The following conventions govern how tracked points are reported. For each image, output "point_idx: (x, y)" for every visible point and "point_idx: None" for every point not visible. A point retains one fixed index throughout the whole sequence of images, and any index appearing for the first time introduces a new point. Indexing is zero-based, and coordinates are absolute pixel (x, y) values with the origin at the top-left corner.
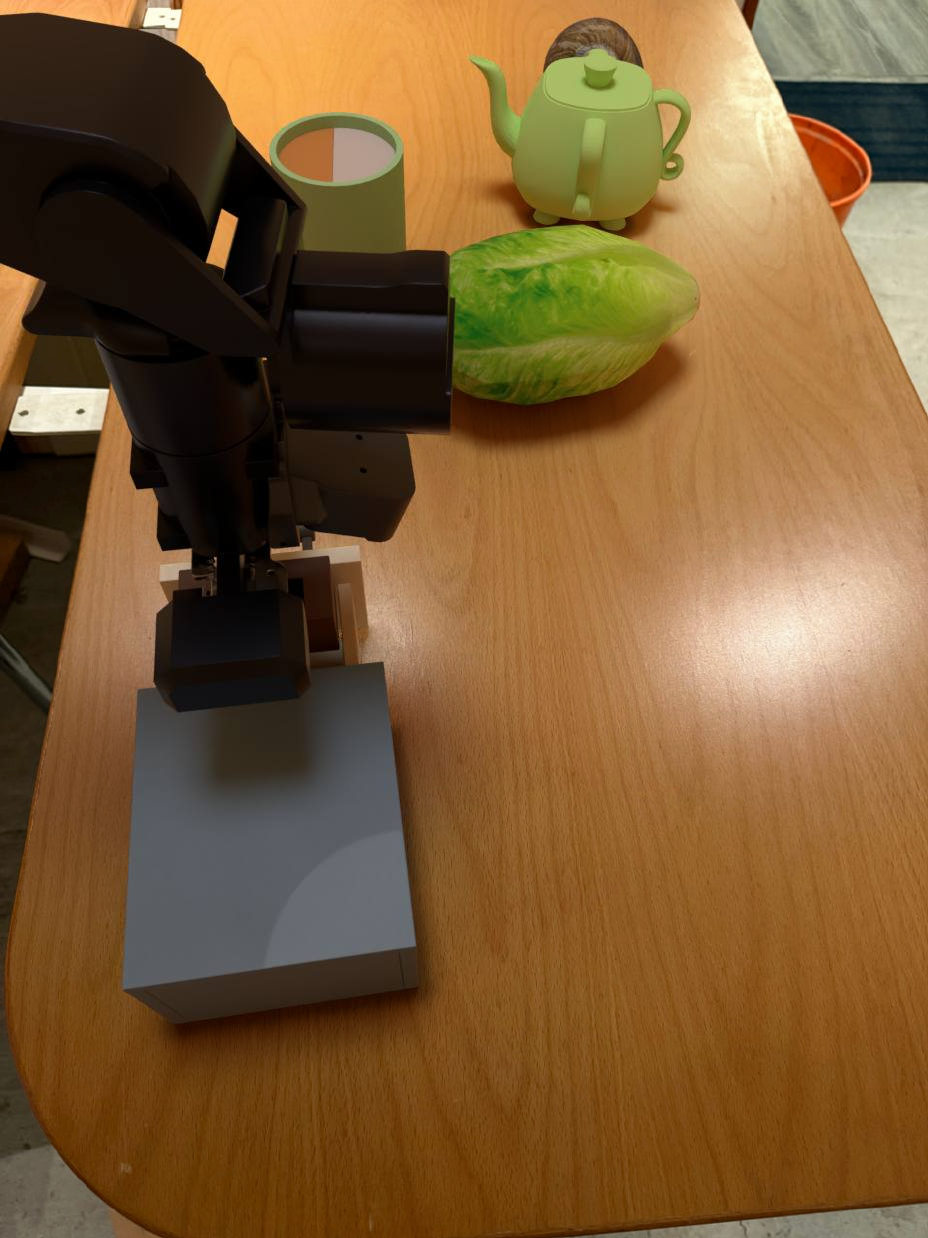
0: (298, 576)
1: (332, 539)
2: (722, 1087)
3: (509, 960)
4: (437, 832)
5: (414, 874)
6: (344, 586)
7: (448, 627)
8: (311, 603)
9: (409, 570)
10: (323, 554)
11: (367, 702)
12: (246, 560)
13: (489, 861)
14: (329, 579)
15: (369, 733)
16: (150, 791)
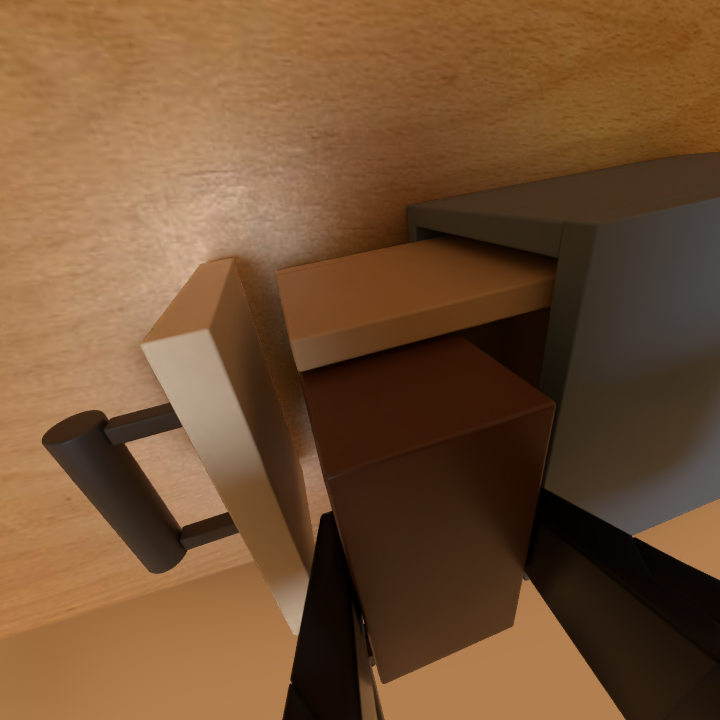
0: (413, 523)
1: (29, 345)
2: None
3: (702, 22)
4: (541, 127)
5: (578, 162)
6: (304, 355)
7: (181, 86)
8: (506, 468)
9: (46, 182)
10: (210, 429)
11: (678, 256)
12: (360, 628)
13: (595, 38)
14: (428, 448)
15: None
16: (653, 516)
